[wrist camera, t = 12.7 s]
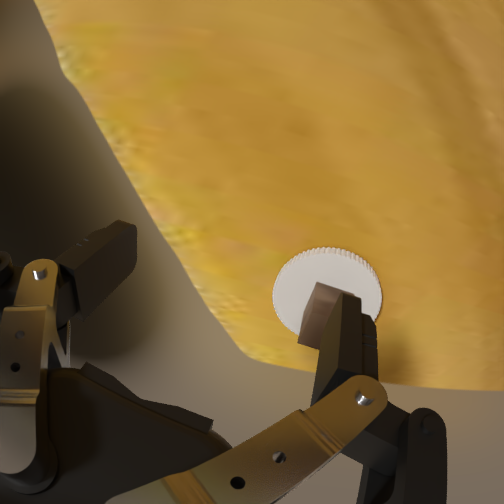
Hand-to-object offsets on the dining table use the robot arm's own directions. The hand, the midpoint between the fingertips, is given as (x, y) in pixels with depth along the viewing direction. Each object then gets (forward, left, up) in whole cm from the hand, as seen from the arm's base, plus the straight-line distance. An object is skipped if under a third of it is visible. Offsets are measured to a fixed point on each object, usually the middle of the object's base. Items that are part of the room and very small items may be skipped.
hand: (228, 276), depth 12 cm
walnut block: (-9, +16, -24) cm, 30 cm away
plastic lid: (-9, +16, -26) cm, 32 cm away
